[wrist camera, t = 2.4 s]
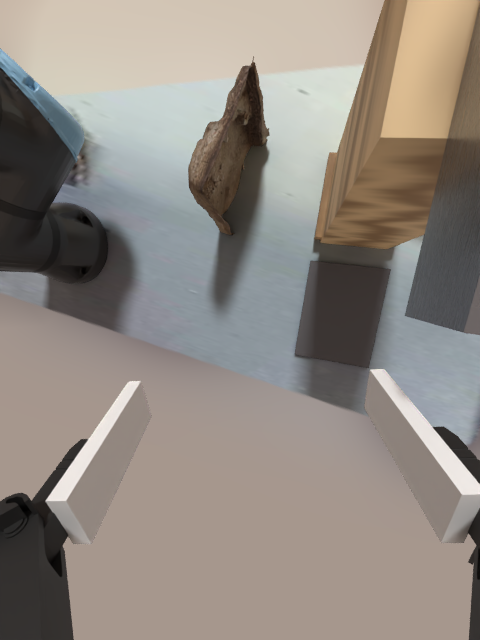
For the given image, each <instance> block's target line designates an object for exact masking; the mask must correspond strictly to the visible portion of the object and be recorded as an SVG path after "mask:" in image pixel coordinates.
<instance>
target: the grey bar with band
mask: <svg viewBox="0 0 480 640" xmlns="http://www.w3.org/2000/svg"><path fill="white" fill-rule="evenodd" d="M405 316H407V317H411V318H414V319H418V320H421V321H425V322H428V323H432V324H435V325H439V326H442V327H446V328H449V329H453V330H456V331H460V332H464V333H470V334H477V335H480V4H479V8H478V13H477V17H476V21H475V25H474V29H473V33H472V38H471V42H470V46H469V50H468V54H467V59H466V63H465V67H464V71H463V75H462V79H461V84H460V88H459V92H458V96H457V100H456V104H455V109H454V113H453V117H452V121H451V125H450V129H449V134H448V138H447V142H446V146H445V150H444V154H443V159H442V163H441V167H440V171H439V175H438V179H437V184H436V188H435V192H434V196H433V200H432V204H431V209H430V213H429V217H428V221H427V225H426V229H425V234H424V238H423V242H422V246H421V250H420V255H419V259H418V263H417V267H416V271H415V275H414V280H413V284H412V288H411V292H410V296H409V300H408V305H407V309H406V313H405Z"/></svg>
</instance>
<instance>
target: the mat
mask: <svg viewBox="0 0 480 640" xmlns="http://www.w3.org/2000/svg"><path fill="white" fill-rule="evenodd" d="M390 270H391V269H382V268H373V267H364V266H355V265H346V264H336V263H327V262H318V261H311V262H310V267H309V273H308V279H307V285H306V291H305V297H304V303H303V309H302V314H301V320H300V326H299V332H298V338H297V344H296V350H295V355H301V356H306V357H311V358H317V359H322V360H328V361H333V362H339V363H344V364H350V365H355V366H361V367H366V368H369V364H370V360H371V355H372V351H373V346H374V342H375V337H376V333H377V328H378V324H379V319H380V315H381V310H382V306H383V301H384V297H385V292H386V288H387V283H388V279H389V274H390Z"/></svg>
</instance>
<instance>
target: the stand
mask: <svg viewBox="0 0 480 640" xmlns="http://www.w3.org/2000/svg"><path fill="white" fill-rule="evenodd" d="M479 4H480V0H385V1H384V4H383V7H382V11H381V14H380V17H379V20H378V23H377V27H376V30H375V33H374V36H373V40H372V43H371V46H370V49H369V52H368V56H367V59H366V62H365V65H364V68H363V72H362V75H361V78H360V81H359V84H358V88H357V91H356V94H355V97H354V100H353V104H352V107H351V110H350V113H349V116H348V120H347V123H346V126H345V129H344V133H343V136H342V139H341V142H340V145H339V149H338V152H337V153H329V157H328V162H327V168H326V173H325V179H324V185H323V191H322V197H321V203H320V209H319V215H318V220H317V226H316V232H315V238H314V239H319V240H321V241H320V243H327V244H337V245H348V246H358V247H369V248H379V249H389V248H391V247H395V246H397V245H400V244H401V243H404V242H406V241H409V240H411V239H414V238H417V237H419V236H422V235H424V234H425V229H426V225H427V221H428V217H429V213H430V209H431V204H432V200H433V196H434V192H435V188H436V184H437V179H438V175H439V171H440V167H441V163H442V159H443V154H444V150H445V146H446V142H447V138H448V134H449V129H450V125H451V121H452V117H453V113H454V109H455V104H456V100H457V96H458V92H459V88H460V84H461V79H462V75H463V71H464V67H465V63H466V59H467V54H468V50H469V46H470V42H471V38H472V33H473V29H474V25H475V21H476V17H477V13H478V8H479Z"/></svg>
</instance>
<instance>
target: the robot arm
mask: <svg viewBox="0 0 480 640" xmlns="http://www.w3.org/2000/svg"><path fill="white" fill-rule="evenodd" d="M83 143H84V131H83V129H82V127H81V125H80V124H79V123H78V122H77V120H76V119H75V118H74V117H73V116H72V115H71V114H70V113H69V112H68V111H67V110H66V109H65V108H64V107H63V106H62V105H60V104H59V103H58V102H57V101H56V100H55V99H54V98H53V97H52V96H51V95H50V94H49V93H48V92H47V91H46V90H45V89H44V88H42V87H41V86H40V85H39V84H38V83H37V82H35V81H34V80H33V78H32V77H31V76H29V75H28V74H27V73H26V72H25V71H24V70H23V69H22V68H21V67H20V66H19V65H18V64H17V63H16V62H15V61H14V60H12V59H11V58H10V57H9V56H8V55H7V54H6V53H5V52H4V51H2V49H0V271H9V272H35V273H39V274H42V275H44V276H47V277H50V278H53V279H55V280H58V281H61V282H65V283H84V282H88V281H90V280H92V279H93V278H95V277H96V276H97V275H98V274H99V273H100V271H101V270H102V268H103V266H104V264H105V261H106V257H107V250H108V244H107V237H106V233H105V230H104V228H103V226H102V224H101V222H100V221H99V219H98V218H97V217H96V216H95V215H94V214H93V213H92V212H91V211H89V210H87V209H86V208H83V207H80V206H78V205H75V204H71V203H52V202H53V201H54V199H55V197H56V195H57V194H58V192H59V190H60V188H61V187H62V185H63V183H64V181H65V180H66V178H67V176H68V174H69V173H70V171H71V169H72V167H73V166H74V164H75V163H76V162H77V160H78V158H77V156H78V154H79V152H80V149H81V147H82V145H83ZM364 408H365V410H366V412H367V414H368V415H369V417H370V419H371V421H372V422H373V424H374V426H375V428H376V429H377V431H378V433H379V435H380V436H381V438H382V440H383V442H384V443H385V445H386V447H387V449H388V450H389V452H390V454H391V455H392V457H393V459H394V461H395V463H396V465H397V466H398V468H399V470H400V472H401V473H402V475H403V477H404V479H405V480H406V482H407V484H408V486H409V487H410V489H411V491H412V493H413V494H414V496H415V498H416V500H417V501H418V503H419V505H420V507H421V508H422V510H423V512H424V514H425V515H426V517H427V519H428V521H429V523H430V524H431V526H432V528H433V530H434V531H435V533H436V535H437V536H438V538H439V540H440V542H441V543H464V541H465V539H466V537H467V535H468V533H469V534H470V536H471V538H472V539H473V540H474V542H475V543H476V545H477V546H476V548H475V549H474V551H473V553H472V555H471V557H470V559H469V563H471V564H473V563H474V569H473V583H472V599H471V615H470V630H469V640H480V460H477V458H476V456H475V455H474V454H473V453H472V452H471V451H470V450H468V447H467V446H466V445H465V444H464V443H463V442H462V441H461V440H460V438H459V437H458V436H456V435H455V434H454V433H452V432H451V431H449V430H448V429H446V428H445V427H432V426H431V425H430V424H429V423H428V421H427V420H426V419H425V418H424V416H423V415H422V414H421V413H420V412H419V410H418V409H417V408H416V407H415V406H414V404H413V403H412V402H411V401H410V400H409V398H408V397H407V396H406V395H405V394H404V392H403V391H402V390H401V389H400V388H399V386H398V385H397V384H396V383H395V381H394V380H393V379H392V378H391V377H390V375H389V374H388V373H387V372H386V371H385V369H374V370H370V372H369V379H368V385H367V392H366V399H365V406H364ZM151 417H152V415H151V412H150V409H149V405H148V402H147V399H146V396H145V392H144V389H143V386H142V382H141V381H130V382H128V383H127V385H126V386H125V387H124V389H123V390H122V392H121V393H120V395H119V396H118V397H117V399H116V400H115V402H114V403H113V405H112V406H111V408H110V409H109V410H108V412H107V413H106V415H105V416H104V418H103V419H102V421H101V422H100V423H99V425H98V426H97V428H96V429H95V431H94V432H93V433H92V435H91V436H90V438H89V439H81V440H80V441H79V442H78V443H77V444H75V445H74V446H73V447H72V448H71V449H70V450H69V451H68V453H67V454H66V455H65V457H64V458H63V460H62V462H60V463H59V465H58V466H57V467H56V470H55V471H53V473H52V474H51V475H50V477H49V478H48V480H47V481H46V482H45V484H44V485H43V486H42V488H41V489H40V490H39V492H38V493H37V494H36V496H35V497H34V498H33V500H32V501H31V500H30V499H29V497H28V496H27V495H26V494H23V493H17V494H14V495H11V496H9V497H6V498H5V499H3V500H2V501H0V640H74V639H73V629H72V619H71V611H70V610H71V609H70V600H69V590H68V581H67V570H66V561H65V551H64V549H63V543H64V542H65V540H66V538H67V537H69V538H70V539H71V541H72V543H73V544H92V542H93V540H94V538H95V536H96V534H97V532H98V529H99V527H100V525H101V523H102V521H103V519H104V517H105V515H106V512H107V510H108V508H109V506H110V504H111V502H112V500H113V498H114V495H115V493H116V491H117V489H118V487H119V485H120V483H121V481H122V478H123V476H124V474H125V472H126V470H127V468H128V466H129V464H130V461H131V459H132V457H133V455H134V453H135V451H136V448H137V446H138V444H139V442H140V440H141V438H142V436H143V434H144V431H145V429H146V427H147V425H148V423H149V421H150V419H151Z"/></svg>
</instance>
